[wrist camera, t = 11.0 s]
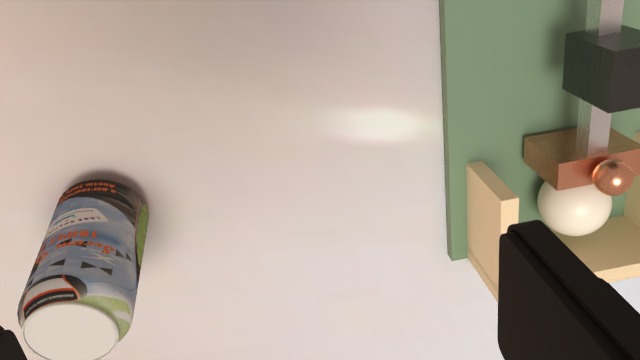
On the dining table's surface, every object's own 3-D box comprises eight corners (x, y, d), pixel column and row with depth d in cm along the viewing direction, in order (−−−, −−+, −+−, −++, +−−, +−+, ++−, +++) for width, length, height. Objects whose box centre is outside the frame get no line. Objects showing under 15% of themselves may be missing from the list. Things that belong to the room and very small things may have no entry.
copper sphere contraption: (530, -39, 35) (601, -27, 28) (621, -53, 35) (711, -45, 29) (523, 164, 41) (579, 213, 35) (600, 150, 42) (670, 195, 35)
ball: (554, 255, 40) (522, 215, 44) (620, 242, 40) (582, 204, 45) (563, 199, 37) (528, 162, 42) (633, 186, 38) (591, 150, 42)
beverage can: (130, 159, 38) (90, 254, 28) (170, 244, 42) (148, 359, 31) (42, 185, 38) (-31, 291, 28) (89, 269, 42) (40, 392, 31)
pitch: (432, -203, 32) (481, -230, 25) (711, -241, 33) (823, -276, 27) (447, 254, 46) (481, 308, 40) (642, 216, 47) (705, 262, 41)
